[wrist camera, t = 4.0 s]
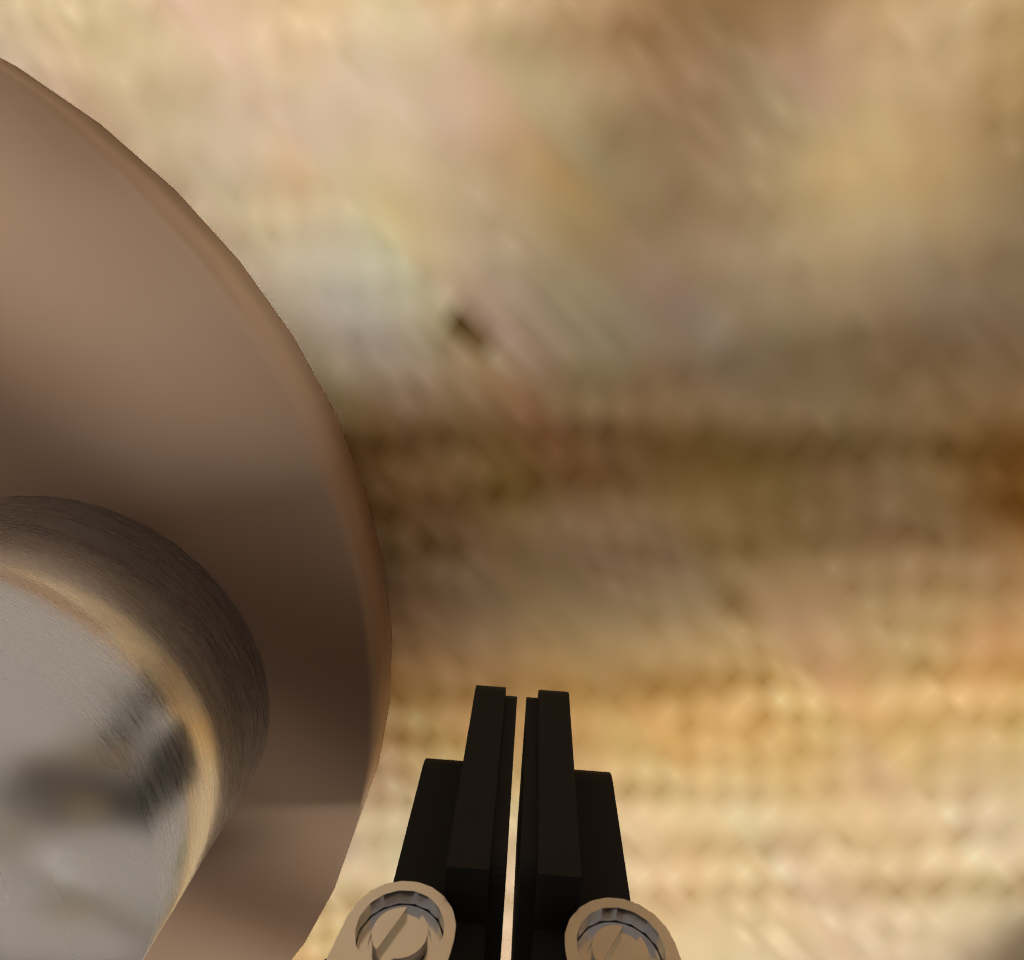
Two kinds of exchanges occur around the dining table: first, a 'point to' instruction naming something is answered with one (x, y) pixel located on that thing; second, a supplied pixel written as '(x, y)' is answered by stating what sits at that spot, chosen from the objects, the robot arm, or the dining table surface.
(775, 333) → the dining table surface
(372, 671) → the turntable
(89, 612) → the cap
